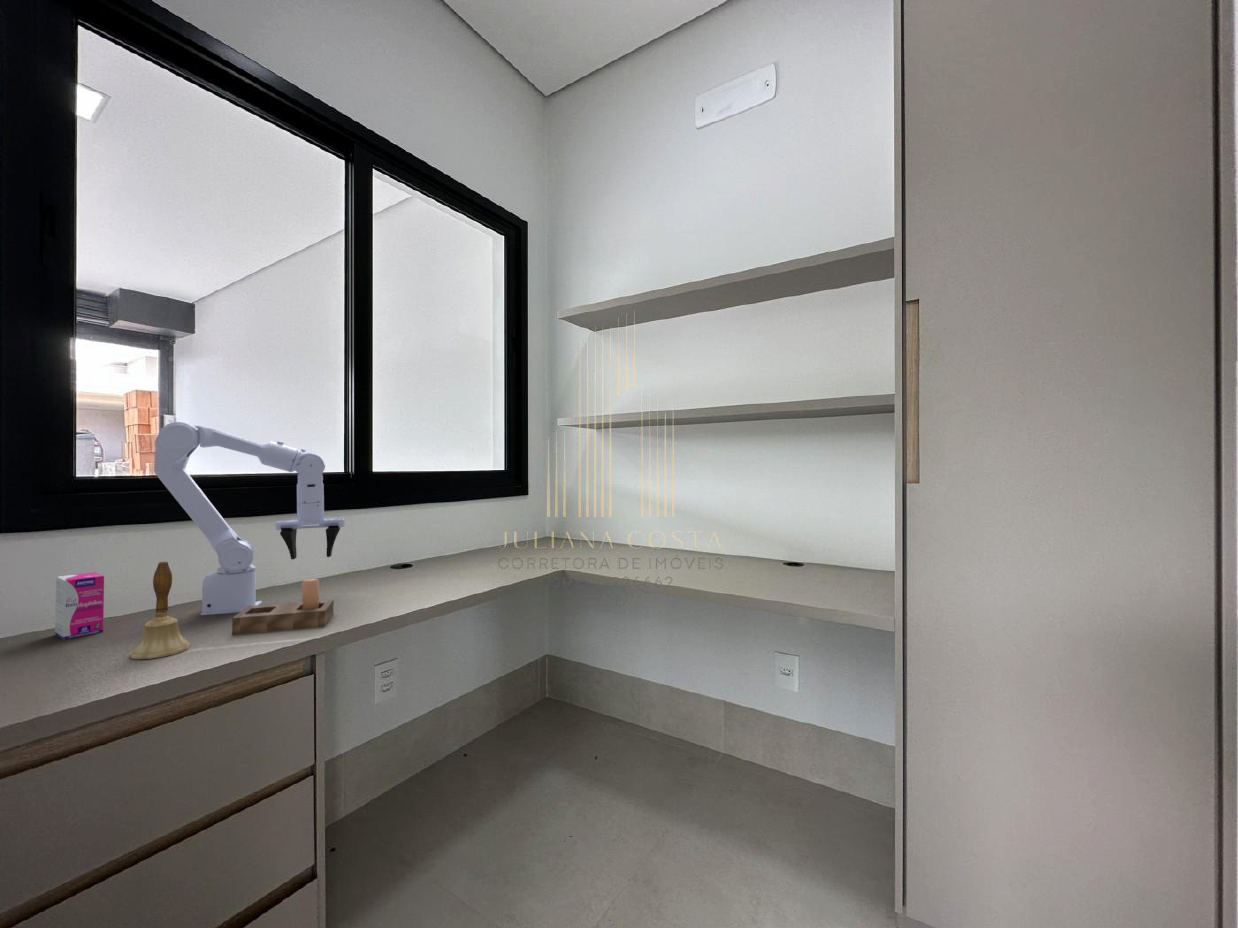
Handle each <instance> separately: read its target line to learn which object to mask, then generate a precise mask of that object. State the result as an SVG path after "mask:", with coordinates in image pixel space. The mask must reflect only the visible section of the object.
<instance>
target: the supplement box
mask: <svg viewBox="0 0 1238 928" xmlns="http://www.w3.org/2000/svg"><path fill="white" fill-rule="evenodd" d="M104 600H105V576H104V575H103V574H100V573H98V572H96V571H94V572H86V573H85V572H83V573H77V574H76V573H75V574H68V575H60V576H56V577H55V609H54V610H55V611H54V613H55V615H54V635H55V636H57V637H58V638H59V639H61V640H62V641H63V640H68V639H71V638H77V637H83V636H88V635H93V634H99V633H103V632H104V618H105V617H104V615H105V613H104V610H105V609H104V608H105V607H104V605H105V603H104V602H105V601H104Z"/></svg>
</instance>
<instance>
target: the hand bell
mask: <svg viewBox="0 0 1238 928" xmlns="http://www.w3.org/2000/svg"><path fill="white" fill-rule="evenodd" d="M156 566H157V567H156V569H155V571H154V574H153V576H152V577H153V579H152V586H153V587H152V588H153V591H154V593H155V598H156V602H155V615H154V618H152V619H151V620H149V621H147V622H146V623H145V624H144V629H143V632H142V637H141V639H140V642H139V643H138V645H137V646H136V647H135V648H134V649H133V650H132V651H131V652H130V654H129V658H131V659H133V660H149V659H150V660H151V659H158V658H163V657H165V658H166V657H168V656H173V655H177V654H180V653H182V652H185V651H187V650H188V649H189V648H190V647H191V646H192V645H191V643H190V642H189V641H188V640H187V639H185V638H184V636H183V635H182V633H181V631H180V627H179V621H178V619H177V618H176V617H172V616H169V613H168V611H169V601H168V600H169V594H170V591H171V588H172V584H173V574H172V570H171V567H170V566H169V562H168V561H160V562H158V565H156Z"/></svg>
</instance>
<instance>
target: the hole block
mask: <svg viewBox="0 0 1238 928" xmlns="http://www.w3.org/2000/svg"><path fill="white" fill-rule="evenodd" d="M333 616H334V599H325V600H319V608H317V609H305V610H302V601H299V602H297V601H296V602H283V603H273V604H271V603H270V604H260V605H255V606H248V607H246V608H245V609H244V610H242V611H241V612H237V613H236V614H235V615H234V616H233V617H232V618H231V619H232V621H231V622H232V624H231V625H232V626H231V627H232V628H231V629H232V631H231V633H232V636H234V635H244V634H246V635H247V634H256V633H265V632H277V631H278V632H279V631H280V632H281V631H289V630H300V629H312V628H313V629H314V628H321V627H322V628H323V627H326V626H327V625H328V623H329V622H330V620H331V618H332V617H333Z"/></svg>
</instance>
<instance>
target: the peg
mask: <svg viewBox="0 0 1238 928" xmlns="http://www.w3.org/2000/svg"><path fill="white" fill-rule="evenodd" d="M319 581H320V579H319V578H307V579H304V580H302V582H301V586H302V587H301V589H302V590H301V591H302V592H301V593H302V595H301V596H302V601H301V602H302V610H305V609H317V608H319V601H320V590H319V589H320V586H319V585H320V582H319Z"/></svg>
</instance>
